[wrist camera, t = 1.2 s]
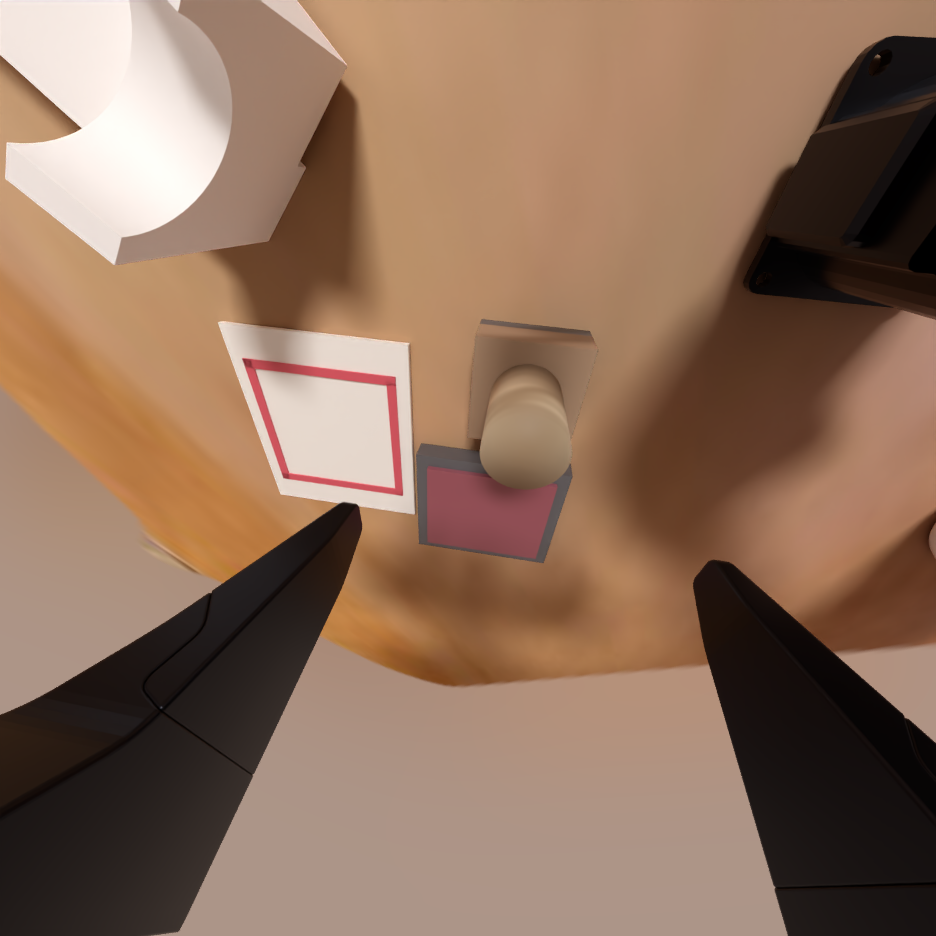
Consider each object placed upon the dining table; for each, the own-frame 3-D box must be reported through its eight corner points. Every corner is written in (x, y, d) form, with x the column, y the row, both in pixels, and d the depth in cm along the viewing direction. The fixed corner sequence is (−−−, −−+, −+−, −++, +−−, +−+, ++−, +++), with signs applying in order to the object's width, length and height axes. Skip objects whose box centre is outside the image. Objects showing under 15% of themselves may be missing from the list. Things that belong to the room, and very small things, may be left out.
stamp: (589, 330, 16) (621, 400, 10) (563, 424, 19) (577, 514, 13) (481, 318, 16) (458, 379, 11) (473, 412, 19) (452, 496, 14)
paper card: (409, 343, 17) (407, 345, 17) (415, 511, 25) (414, 515, 24) (221, 321, 18) (216, 323, 18) (282, 491, 25) (279, 495, 25)
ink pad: (570, 463, 20) (573, 479, 19) (542, 549, 25) (543, 566, 24) (421, 443, 21) (415, 457, 20) (422, 531, 26) (418, 546, 25)
